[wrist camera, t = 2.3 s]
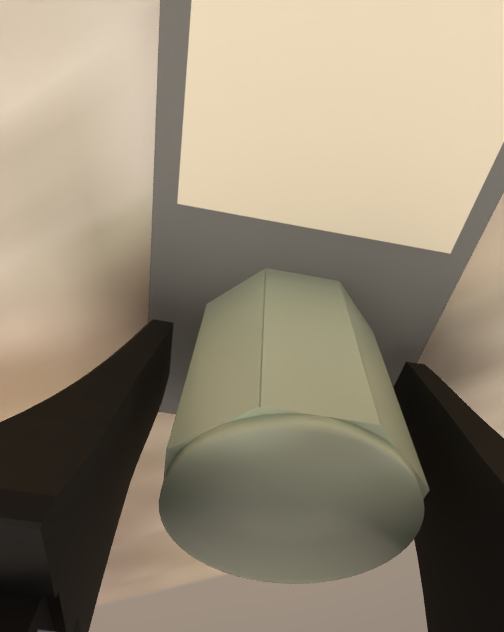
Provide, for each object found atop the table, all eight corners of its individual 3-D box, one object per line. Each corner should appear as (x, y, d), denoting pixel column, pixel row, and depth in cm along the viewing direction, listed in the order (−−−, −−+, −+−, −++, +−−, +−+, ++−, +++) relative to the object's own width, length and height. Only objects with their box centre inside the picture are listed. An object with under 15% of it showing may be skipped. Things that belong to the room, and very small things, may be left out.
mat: (372, 435, 16) (375, 449, 16) (148, 400, 16) (143, 413, 15) (652, -132, 8) (683, -149, 7) (176, -247, 7) (167, -274, 7)
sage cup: (339, 415, 15) (372, 596, 10) (195, 392, 15) (153, 566, 10) (390, 289, 12) (474, 456, 7) (212, 258, 12) (165, 408, 7)
